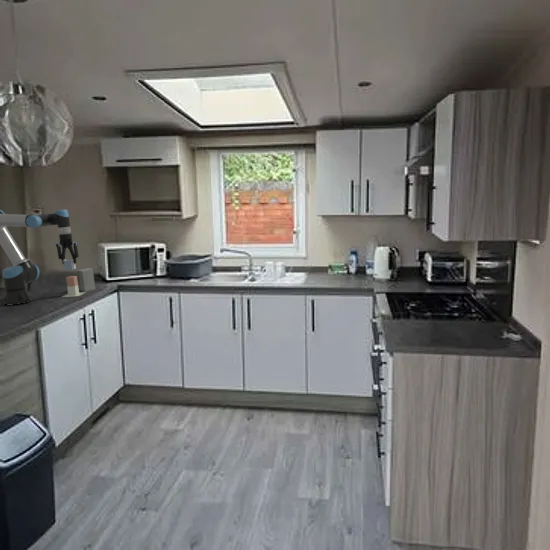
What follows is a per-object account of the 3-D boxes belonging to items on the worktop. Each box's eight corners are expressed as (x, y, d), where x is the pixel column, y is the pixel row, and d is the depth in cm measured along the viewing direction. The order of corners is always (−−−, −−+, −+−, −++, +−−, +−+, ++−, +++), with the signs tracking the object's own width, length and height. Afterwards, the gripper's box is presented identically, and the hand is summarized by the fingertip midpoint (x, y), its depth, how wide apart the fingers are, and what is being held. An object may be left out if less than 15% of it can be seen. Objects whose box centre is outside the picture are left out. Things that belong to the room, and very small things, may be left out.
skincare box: (91, 290, 339) (88, 267, 336) (96, 290, 334) (93, 268, 332) (79, 292, 333) (76, 269, 330) (85, 293, 328) (81, 270, 325)
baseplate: (61, 298, 315) (60, 297, 315) (69, 294, 327) (69, 293, 327) (79, 297, 315) (78, 295, 314) (86, 293, 327) (86, 292, 326)
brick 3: (68, 295, 318) (67, 286, 317) (71, 293, 323) (70, 285, 322) (75, 295, 318) (74, 286, 317) (79, 293, 323) (77, 284, 322)
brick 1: (64, 270, 315) (63, 261, 314) (68, 269, 320) (67, 260, 319) (72, 269, 315) (71, 260, 314) (75, 268, 320) (74, 259, 319)
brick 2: (67, 286, 317) (66, 277, 316) (70, 285, 322) (69, 276, 321) (74, 286, 317) (73, 277, 316) (78, 284, 322) (76, 275, 321)
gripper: (48, 235, 310) (54, 270, 314) (76, 233, 309) (81, 268, 313) (54, 234, 318) (59, 268, 322) (81, 232, 317) (86, 267, 321)
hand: (70, 268), depth 318 cm, fingers closed on brick 1, 5 cm apart
